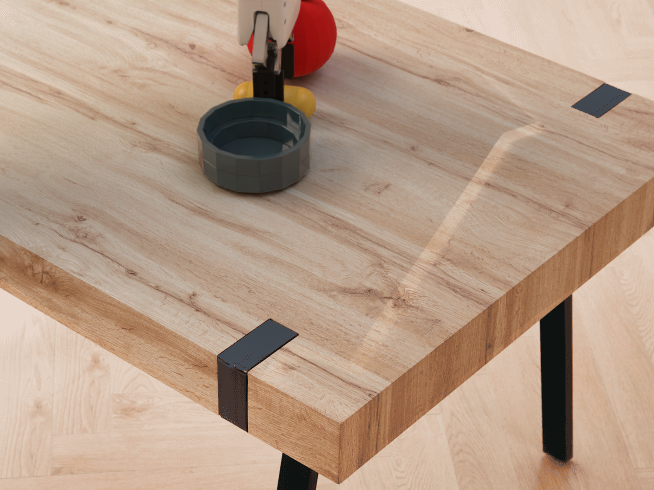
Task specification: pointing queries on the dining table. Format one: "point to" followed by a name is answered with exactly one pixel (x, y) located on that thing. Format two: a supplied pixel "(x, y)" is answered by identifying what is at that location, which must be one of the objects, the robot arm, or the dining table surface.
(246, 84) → the yellow capsule
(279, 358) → the dining table surface
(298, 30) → the tomato
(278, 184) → the bowl
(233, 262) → the dining table surface
